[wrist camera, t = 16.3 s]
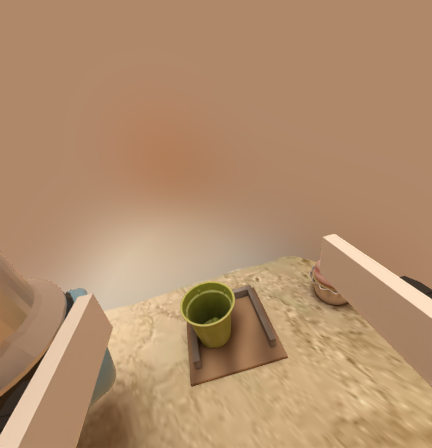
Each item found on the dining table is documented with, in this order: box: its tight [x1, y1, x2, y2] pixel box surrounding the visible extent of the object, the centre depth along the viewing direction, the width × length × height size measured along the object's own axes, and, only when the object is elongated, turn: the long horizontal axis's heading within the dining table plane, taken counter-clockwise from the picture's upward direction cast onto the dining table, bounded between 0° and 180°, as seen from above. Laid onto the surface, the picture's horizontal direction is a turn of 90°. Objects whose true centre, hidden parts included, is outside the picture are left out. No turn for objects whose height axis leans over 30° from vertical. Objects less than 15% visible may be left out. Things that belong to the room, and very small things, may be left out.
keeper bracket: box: [187, 285, 287, 386], centre depth 40 cm, size 16×16×2 cm
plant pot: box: [180, 281, 235, 348], centre depth 37 cm, size 9×9×9 cm
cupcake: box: [309, 259, 347, 305], centre depth 41 cm, size 9×9×10 cm
